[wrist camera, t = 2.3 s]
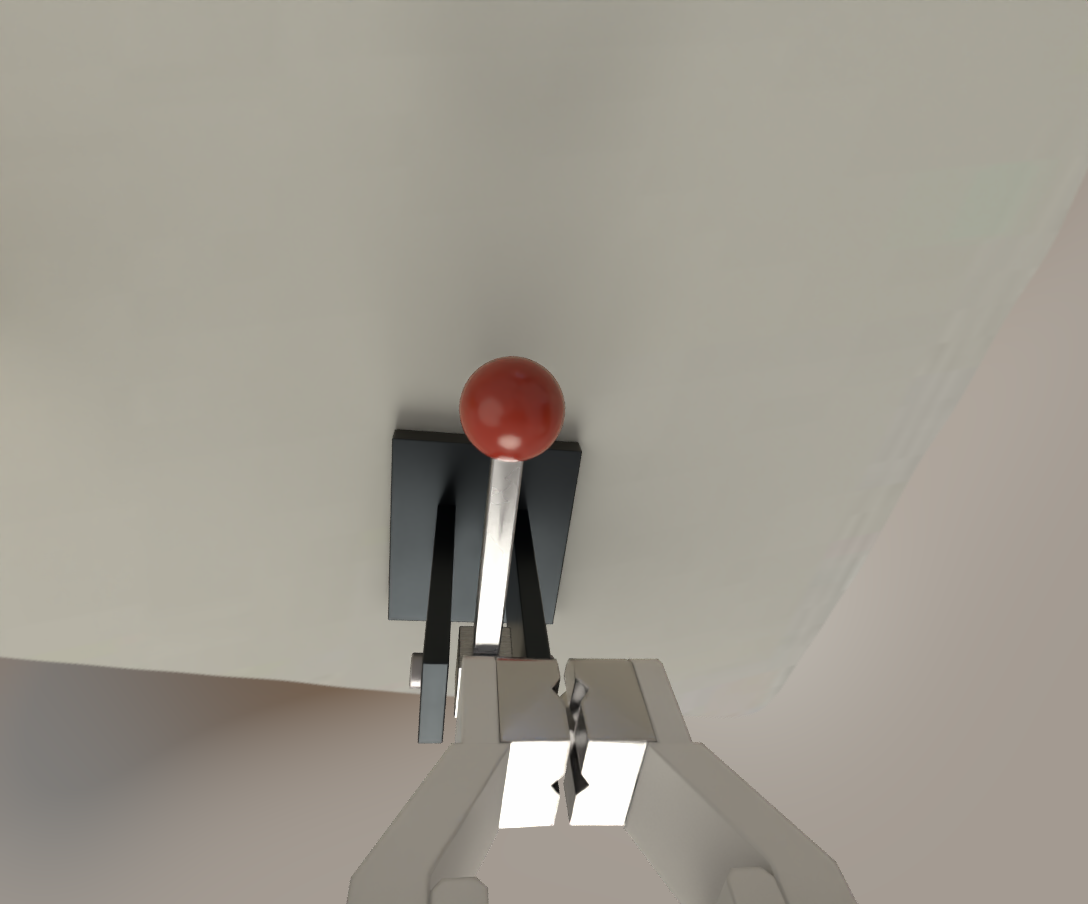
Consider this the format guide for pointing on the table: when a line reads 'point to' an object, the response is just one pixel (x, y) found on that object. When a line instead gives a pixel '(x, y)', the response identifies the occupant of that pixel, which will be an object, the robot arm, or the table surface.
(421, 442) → the bracket
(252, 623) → the table surface
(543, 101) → the table surface
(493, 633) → the lever
